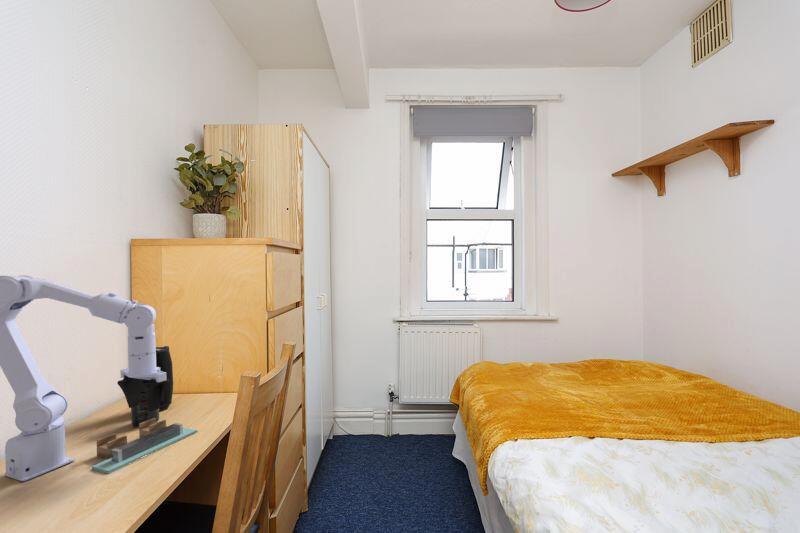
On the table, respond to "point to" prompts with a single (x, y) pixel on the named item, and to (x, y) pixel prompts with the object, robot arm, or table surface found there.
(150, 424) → the cradle right
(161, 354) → the portable speaker
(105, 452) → the cradle left
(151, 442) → the rail
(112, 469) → the mat
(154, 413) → the supplement bottle
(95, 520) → the table surface
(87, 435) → the table surface
